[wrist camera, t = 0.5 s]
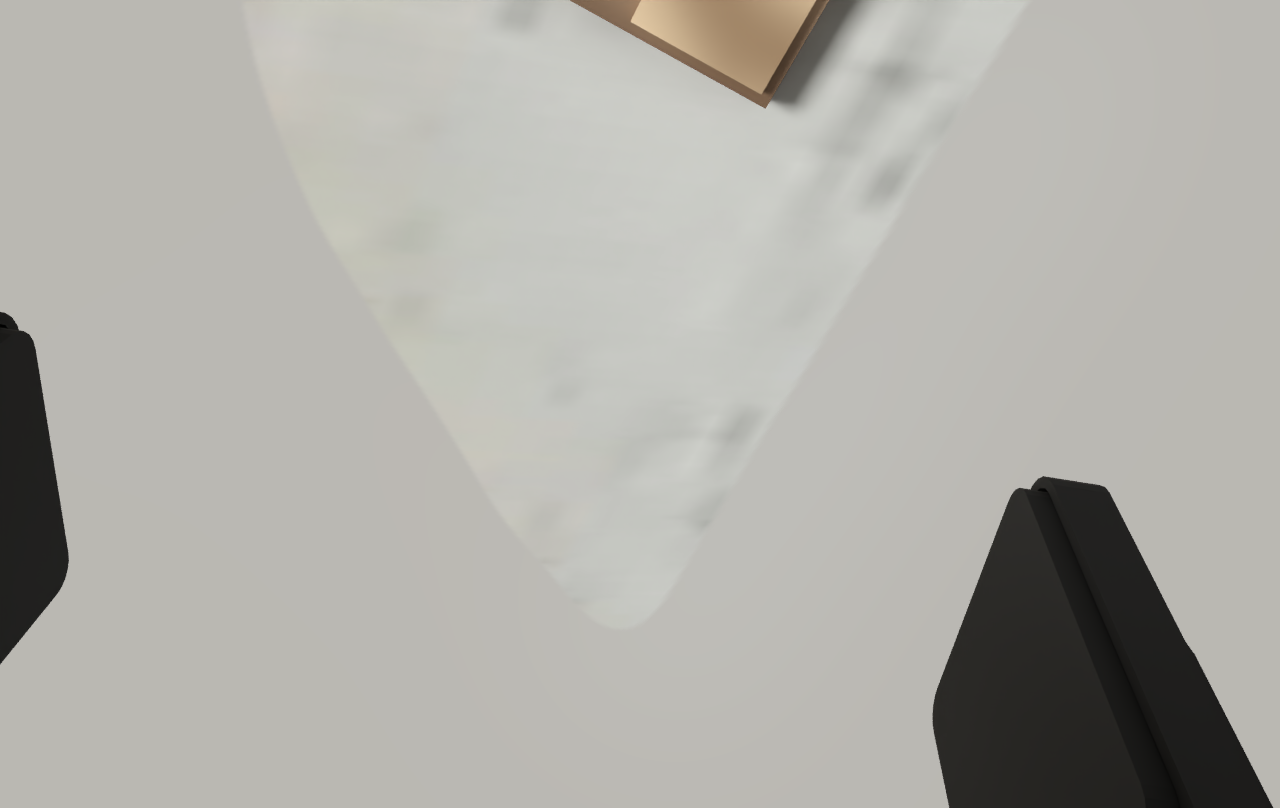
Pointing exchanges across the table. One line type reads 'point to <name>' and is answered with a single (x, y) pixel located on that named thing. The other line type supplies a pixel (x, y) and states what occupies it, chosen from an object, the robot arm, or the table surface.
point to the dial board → (721, 36)
